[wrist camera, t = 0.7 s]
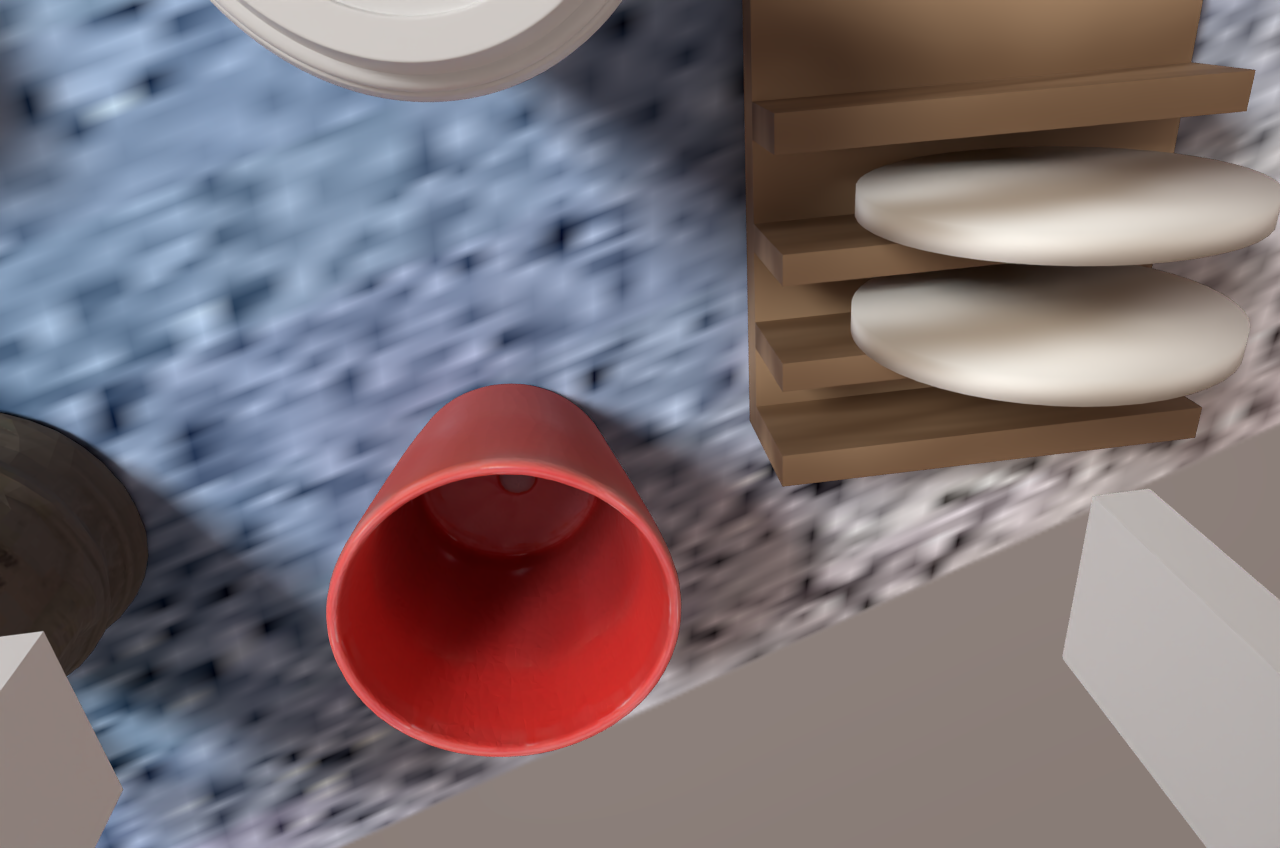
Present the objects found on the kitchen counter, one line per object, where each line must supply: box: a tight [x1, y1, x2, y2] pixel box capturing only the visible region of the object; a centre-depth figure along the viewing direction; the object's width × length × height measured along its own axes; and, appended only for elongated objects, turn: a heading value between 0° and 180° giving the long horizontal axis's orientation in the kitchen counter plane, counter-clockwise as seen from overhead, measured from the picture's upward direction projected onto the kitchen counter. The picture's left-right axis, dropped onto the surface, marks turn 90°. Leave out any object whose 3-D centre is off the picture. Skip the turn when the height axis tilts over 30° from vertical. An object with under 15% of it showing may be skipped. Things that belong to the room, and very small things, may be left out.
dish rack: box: [742, 0, 1280, 486], centre depth 25 cm, size 26×15×12 cm, turn 4°
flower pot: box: [326, 384, 681, 757], centre depth 31 cm, size 11×11×10 cm
